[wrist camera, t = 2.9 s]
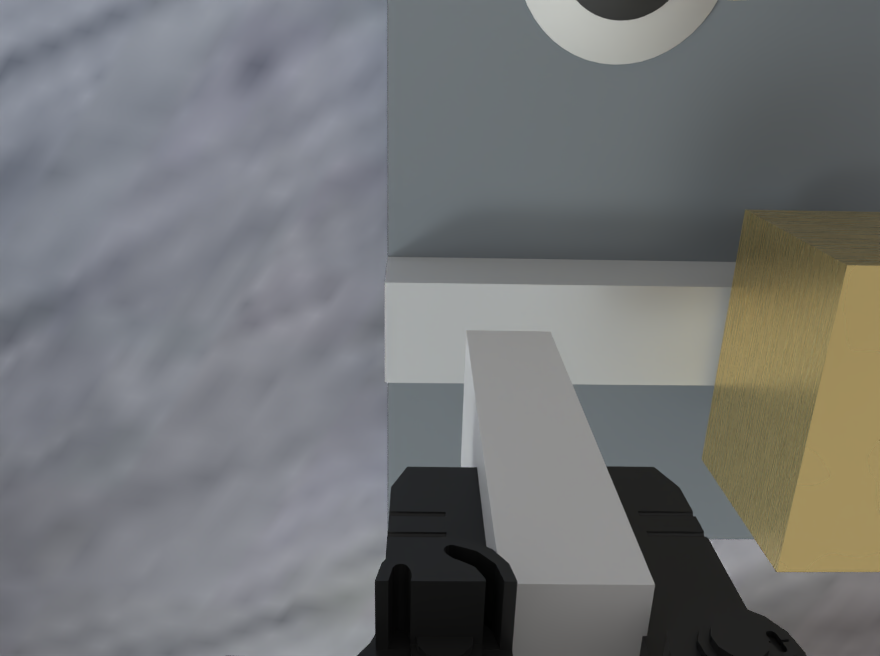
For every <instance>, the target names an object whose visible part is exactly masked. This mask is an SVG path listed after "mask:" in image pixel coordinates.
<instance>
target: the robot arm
mask: <svg viewBox="0 0 880 656" xmlns="http://www.w3.org/2000/svg"><path fill="white" fill-rule="evenodd" d="M375 633H376V634H375V636H374V637H373V639H372V641H371V642H370V644H369V645H368V646H367V647H366V648H365V649H364V650H362V651H361V652H360V653H359V654H358V655H357V656H806V654H805V652H804V651H803V650H802V649H801V647H800V646H799V645H798V644H797V643H796V642H795V640H794V639H793V638H792V637H791V636H790V635H789V633H788V632H787V631H785V630H784V629H782V628H781V627H779V626H778V625H776V624H775V623H773V622H772V621H770V620H769V619H768V618H766V617H765V616H762V615H760V614H757V613H754V612H752V611H749V610H747V608H746V606H745V605H744V603H743V601H742V599H741V597H740V596H739V594H738V592H737V590H736V588H735V587H734V585H733V583H732V581H731V579H730V577H729V576H728V574H727V572H726V570H725V568H724V567H723V565H722V563H721V561H720V559H719V558H718V556H717V554H716V552H715V550H714V549H713V547H712V545H711V543H710V541H709V540H708V538H707V537H704V531H703V529H702V527H701V525H700V523H699V521H698V520H697V518H696V516H693V511H692V509H691V507H690V505H689V503H688V502H687V500H686V498H685V496H684V494H683V493H682V491H681V489H680V487H678V486H677V485H676V484H675V483H673V482H672V481H671V480H670V479H668V478H667V477H666V476H665V475H664V474H662V473H661V472H660V471H659V470H657V469H656V468H655V467H624V466H606V465H605V462H604V460H603V458H602V455H601V453H600V450H599V448H598V445H597V443H596V441H595V438H594V436H593V433H592V431H591V428H590V426H589V424H588V421H587V419H586V416H585V414H584V411H583V409H582V407H581V404H580V402H579V399H578V397H577V395H576V392H575V390H574V387H573V385H572V382H571V380H570V378H569V375H568V373H567V370H566V368H565V365H564V363H563V361H562V358H561V356H560V353H559V351H558V349H557V346H556V344H555V341H554V339H553V336H552V334H551V332H543V331H481V330H466V348H465V373H464V397H463V422H462V446H461V467H406V469H405V470H404V471H403V472H402V474H401V475H400V476H399V478H398V479H397V480H396V481H395V483H394V484H393V485H392V486H391V494H390V508H389V521H388V537H387V549H386V560H384V561H383V562H382V564H381V566H380V569H379V572H378V574H377V577H376V580H375Z"/></svg>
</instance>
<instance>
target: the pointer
mask: <svg viewBox="0 0 880 656" xmlns="http://www.w3.org/2000/svg"><path fill="white" fill-rule="evenodd" d="M702 461H703V463H704V464H705V466H706V467H707V468H708V470H709V471H710V473H711V474H712V476H713V477H714V479H715V480H716V482H717V483H718V485H719V486H720V488H721V489H722V491H723V492H724V494H725V495H726V497H727V498H728V500H729V501H730V503H731V504H732V506H733V507H734V509H735V510H736V512H737V513H738V515H739V516H740V518H741V519H742V521H743V522H744V524H745V525H746V527H747V528H748V530H749V531H750V533H751V534H752V536H753V537H754V539H755V540H756V542H757V543H758V545H759V546H760V548H761V549H762V551H763V552H764V554H765V555H766V557H767V558H768V560H769V561H770V563H771V564H772V566H773V567H774V569H775V570H776V572H880V212H853V211H797V210H745V213H744V219H743V225H742V230H741V236H740V242H739V248H738V253H737V259H736V265H735V271H734V276H733V282H732V288H731V294H730V299H729V305H728V311H727V317H726V322H725V328H724V334H723V340H722V345H721V351H720V357H719V363H718V368H717V374H716V380H715V386H714V391H713V397H712V403H711V408H710V414H709V420H708V426H707V431H706V437H705V443H704V449H703V454H702Z"/></svg>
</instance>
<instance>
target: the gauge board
mask: <svg viewBox="0 0 880 656" xmlns="http://www.w3.org/2000/svg"><path fill="white" fill-rule="evenodd" d="M387 148H388V257H387V266H386V274H385V383H388V521H389V508H390V494H391V486H392V485H393V484H394V483H395V481H396V480H397V479H398V478H399V476H400V475H401V474H402V472H403V471H404V470H405V469H406V467H461V446H462V422H463V397H464V373H465V348H466V330H481V331H543V332H551V334H552V336H553V339H554V341H555V344H556V346H557V349H558V351H559V353H560V356H561V358H562V361H563V363H564V365H565V368H566V370H567V373H568V375H569V378H570V380H571V382H572V385H573V387H574V390H575V392H576V395H577V397H578V399H579V402H580V404H581V407H582V409H583V411H584V414H585V416H586V419H587V421H588V424H589V426H590V428H591V431H592V433H593V436H594V438H595V441H596V443H597V445H598V448H599V450H600V453H601V455H602V458H603V460H604V462H605V465H606V466H624V467H655V468H656V469H657V470H659V471H660V472H661V473H662V474H664V475H665V476H666V477H667V478H668V479H670V480H671V481H672V482H673V483H675V484H676V485H677V486H678V487H680V489H681V491H682V493H683V494H684V496H685V498H686V500H687V502H688V503H689V505H690V507H691V509H692V511H693V516H696V518H697V520H698V521H699V523H700V525H701V527H702V529H703V531H704V537H707V538H708V539H754V537H753V536H752V534H751V533H750V531H749V530H748V528H747V527H746V525H745V524H744V522H743V521H742V519H741V518H740V516H739V515H738V513H737V512H736V510H735V509H734V507H733V506H732V504H731V503H730V501H729V500H728V498H727V497H726V495H725V494H724V492H723V491H722V489H721V488H720V486H719V485H718V483H717V482H716V480H715V479H714V477H713V476H712V474H711V473H710V471H709V470H708V468H707V467H706V466H705V464H704V463H703V461H702V454H703V449H704V443H705V437H706V431H707V426H708V420H709V414H710V408H711V403H712V397H713V391H714V386H715V380H716V374H717V368H718V363H719V357H720V351H721V345H722V340H723V334H724V328H725V322H726V317H727V311H728V305H729V299H730V294H731V288H732V282H733V276H734V271H735V265H736V259H737V253H738V248H739V242H740V236H741V230H742V225H743V219H744V213H745V210H797V211H853V212H880V0H387Z"/></svg>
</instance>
